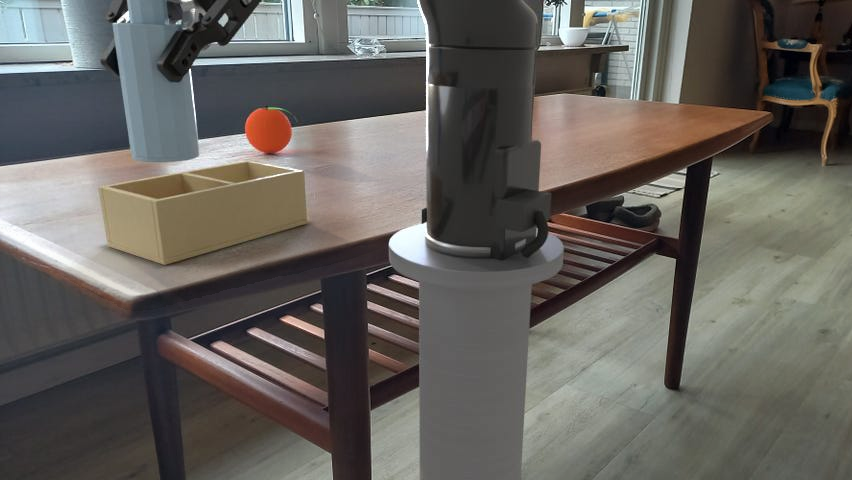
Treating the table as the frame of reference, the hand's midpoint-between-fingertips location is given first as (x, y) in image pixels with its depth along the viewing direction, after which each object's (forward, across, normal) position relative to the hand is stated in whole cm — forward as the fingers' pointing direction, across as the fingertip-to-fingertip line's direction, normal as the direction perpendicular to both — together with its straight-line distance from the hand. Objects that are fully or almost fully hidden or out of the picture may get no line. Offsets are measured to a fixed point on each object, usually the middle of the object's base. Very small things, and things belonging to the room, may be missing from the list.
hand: (138, 72), depth 56 cm
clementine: (-19, -22, +42) cm, 51 cm away
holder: (+7, +1, +15) cm, 16 cm away
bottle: (+4, 0, +6) cm, 7 cm away
